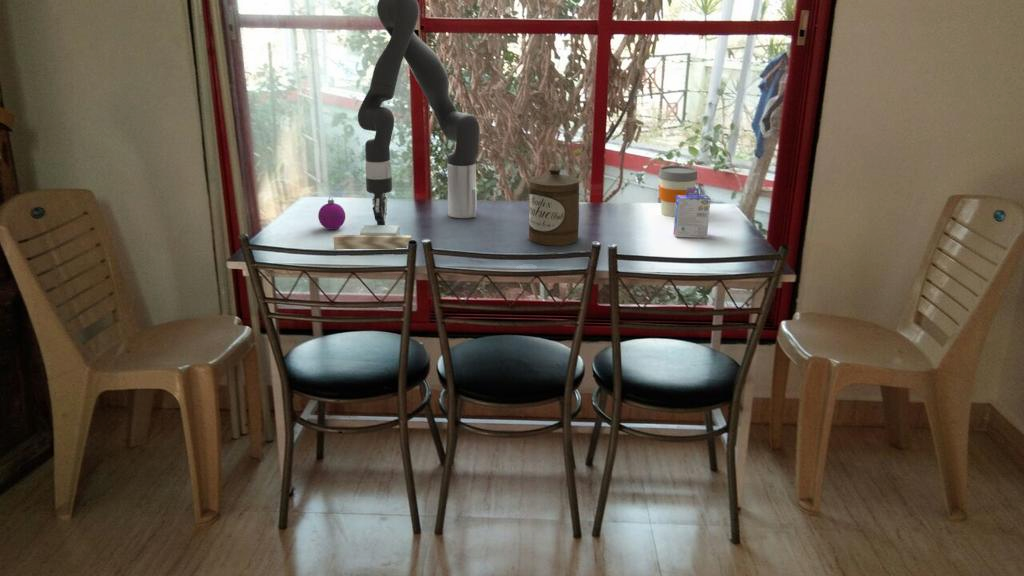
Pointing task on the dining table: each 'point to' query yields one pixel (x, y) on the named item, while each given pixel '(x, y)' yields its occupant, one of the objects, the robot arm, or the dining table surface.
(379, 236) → the board
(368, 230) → the block
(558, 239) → the wooden container
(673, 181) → the reusable coffee cup
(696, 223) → the ink cartridge box
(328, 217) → the christmas ornament
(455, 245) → the dining table surface
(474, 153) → the robot arm
